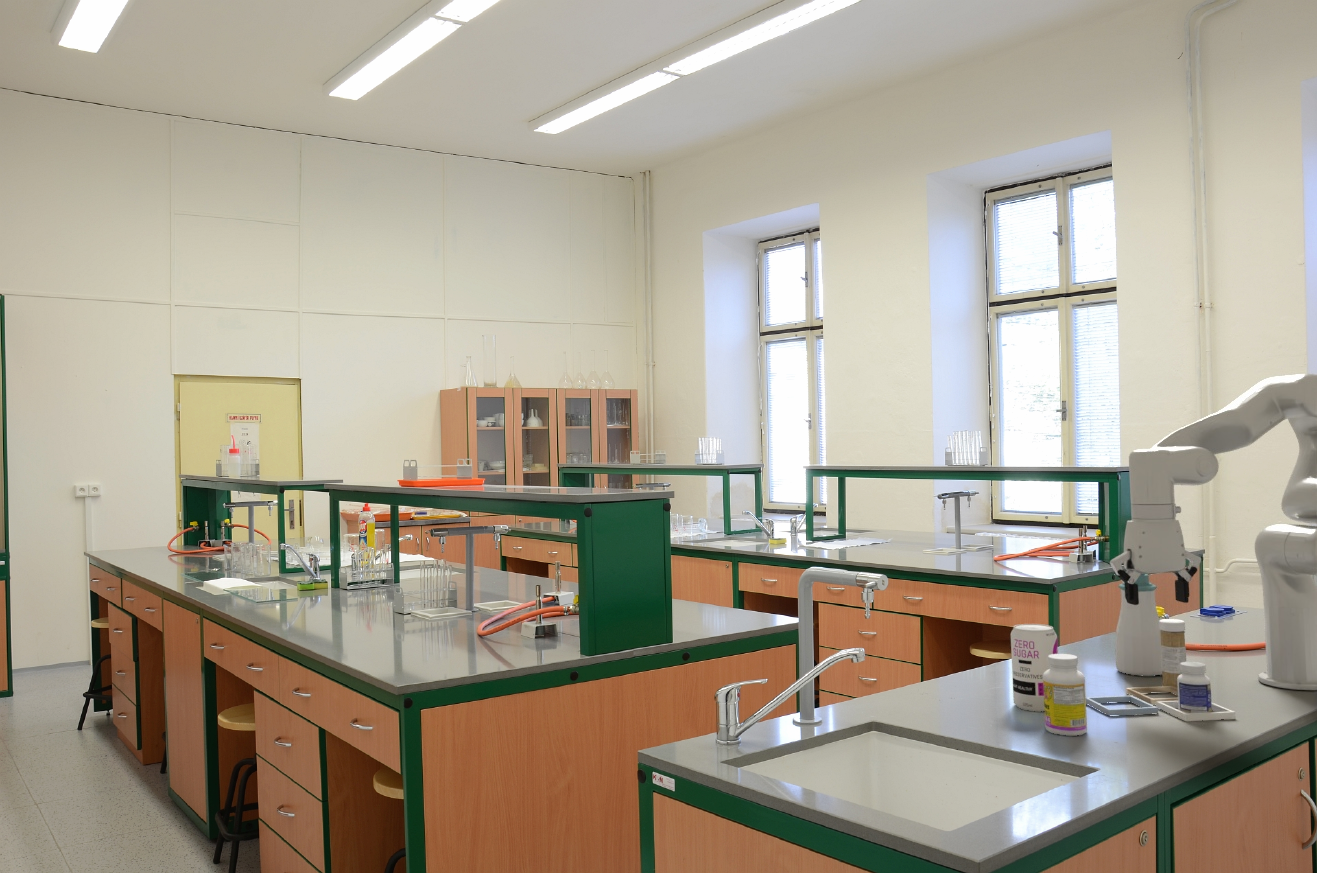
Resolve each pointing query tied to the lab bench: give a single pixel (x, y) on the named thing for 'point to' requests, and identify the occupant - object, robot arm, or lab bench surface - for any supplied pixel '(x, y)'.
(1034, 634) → the supplement can
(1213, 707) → the tray white
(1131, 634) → the soap bottle
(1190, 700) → the pill bottle
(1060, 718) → the supplement bottle
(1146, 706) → the tray slate
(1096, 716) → the lab bench surface
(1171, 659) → the sprinkles bottle
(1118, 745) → the lab bench surface
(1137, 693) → the tray birch
